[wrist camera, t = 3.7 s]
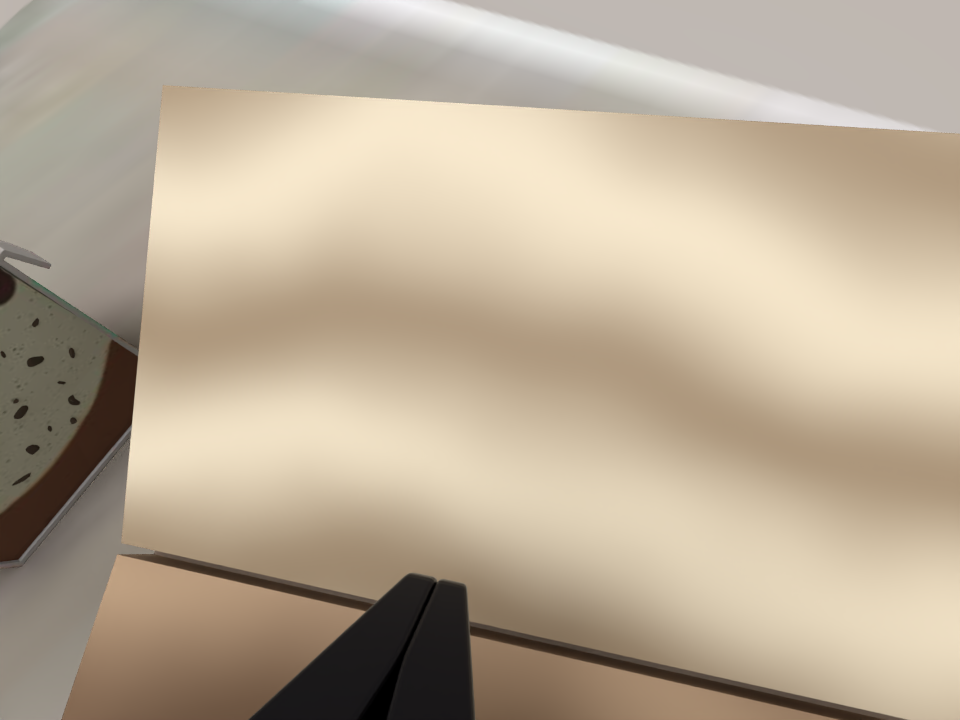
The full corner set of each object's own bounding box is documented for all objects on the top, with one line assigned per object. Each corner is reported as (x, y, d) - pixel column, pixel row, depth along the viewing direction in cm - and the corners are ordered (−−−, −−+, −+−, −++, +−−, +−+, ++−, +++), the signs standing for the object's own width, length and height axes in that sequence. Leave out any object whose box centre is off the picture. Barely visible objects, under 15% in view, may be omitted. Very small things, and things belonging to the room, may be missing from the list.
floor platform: (815, 957, 17) (972, 1216, 10) (187, 770, 21) (9, 872, 14) (833, 304, 22) (944, 201, 16) (334, 248, 26) (255, 146, 20)
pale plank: (920, 689, 14) (958, 730, 12) (161, 525, 18) (120, 542, 16) (1018, 162, 13) (1070, 140, 12) (200, 107, 17) (162, 85, 15)
